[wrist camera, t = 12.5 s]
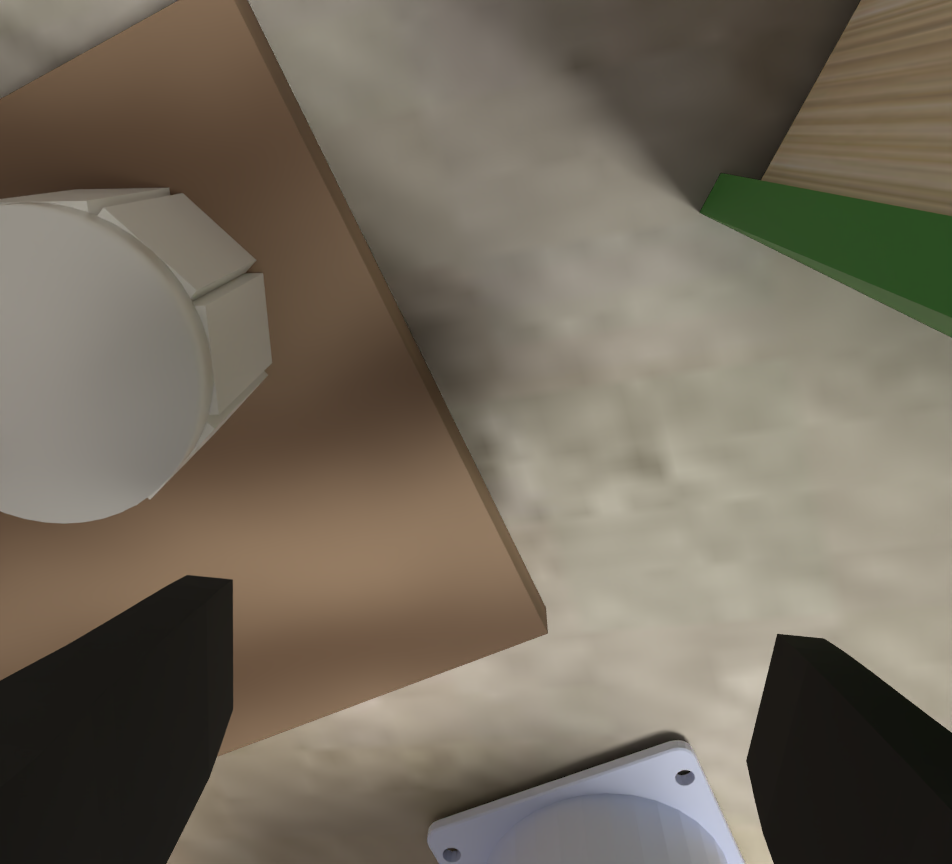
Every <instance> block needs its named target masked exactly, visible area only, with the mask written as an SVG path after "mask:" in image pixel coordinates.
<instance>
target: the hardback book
mask: <svg viewBox="0 0 952 864" xmlns="http://www.w3.org/2000/svg"><path fill="white" fill-rule="evenodd" d="M700 213H701V214H703V215H705V216H707V217H709V218H711V219H714V220H716V221H718V222H720V223H722V224H724V225H726V226H728V227H730V228H732V229H734V230H736V231H738V232H740V233H742V234H744V235H746V236H748V237H750V238H752V239H754V240H756V241H758V242H760V243H762V244H764V245H766V246H768V247H770V248H772V249H774V250H776V251H778V252H780V253H782V254H784V255H786V256H788V257H790V258H792V259H794V260H796V261H798V262H800V263H802V264H804V265H806V266H808V267H810V268H812V269H814V270H816V271H818V272H820V273H822V274H824V275H827V276H829V277H831V278H833V279H835V280H837V281H839V282H841V283H843V284H845V285H847V286H849V287H851V288H853V289H855V290H857V291H859V292H861V293H863V294H865V295H867V296H869V297H871V298H873V299H875V300H877V301H879V302H881V303H883V304H885V305H887V306H889V307H891V308H893V309H895V310H897V311H899V312H901V313H903V314H905V315H907V316H909V317H911V318H913V319H915V320H917V321H919V322H921V323H923V324H925V325H927V326H929V327H931V328H933V329H935V330H937V331H940V332H942V333H944V334H946V335H948V336H950V337H952V0H861V1H860V3H859V5H858V7H857V8H856V10H855V12H854V14H853V16H852V17H851V19H850V21H849V23H848V25H847V26H846V28H845V30H844V32H843V34H842V35H841V37H840V39H839V41H838V43H837V44H836V46H835V48H834V50H833V52H832V53H831V55H830V57H829V59H828V61H827V62H826V64H825V66H824V68H823V70H822V71H821V73H820V75H819V77H818V79H817V80H816V82H815V84H814V86H813V88H812V89H811V91H810V93H809V95H808V96H807V98H806V100H805V102H804V104H803V105H802V107H801V109H800V111H799V113H798V114H797V116H796V118H795V120H794V122H793V123H792V125H791V127H790V129H789V131H788V132H787V134H786V136H785V138H784V140H783V141H782V143H781V145H780V147H779V149H778V150H777V152H776V154H775V156H774V158H773V159H772V161H771V163H770V165H769V167H768V168H767V170H766V172H765V174H764V176H763V177H762V179H761V180H756V179H751V178H746V177H740V176H735V175H730V174H724V173H721V174H720V175H719V177H718V179H717V181H716V183H715V185H714V187H713V188H712V190H711V192H710V194H709V196H708V198H707V200H706V201H705V203H704V205H703V207H702V209H701V211H700Z"/></svg>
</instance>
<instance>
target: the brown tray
mask: <svg viewBox="0 0 952 864" xmlns="http://www.w3.org/2000/svg"><path fill="white" fill-rule="evenodd" d="M122 188H169V190H170V195H175V194H180V193H183V194H184V195H186V196H187V197H188V198H189V199H190V200H191V201H192V202H193V203H194V204H195V205H197V206H198V207H199V208H200V209H201V210H202V211H203V212H204V213H205V214H206V215H207V216H209V217H210V218H211V219H212V220H213V221H214V222H215V223H216V224H217V225H218V226H220V227H221V228H222V229H223V230H224V231H225V232H226V233H227V234H228V235H229V236H231V237H232V238H233V239H234V240H235V241H236V242H237V243H238V244H239V245H240V246H242V247H243V248H244V249H245V250H246V251H247V252H248V253H249V254H250V255H251V256H252V257H254V258H255V259H256V261H255V263H254V264H253V265H252V266H251V267H250V268H249V269H248V271H247V272H246V273H263V278H264V287H265V297H266V307H267V317H268V327H269V337H270V347H271V356H272V364H271V365H270V366H269V367H267V368H266V369H265V370H264V371H265V372H266V373H267V374H268V376H267V377H266V378H265V379H264V380H263V381H262V382H261V383H260V385H259V386H258V387H257V388H256V389H255V390H254V391H253V392H252V393H251V394H250V395H249V397H248V398H247V399H246V400H245V401H244V402H243V403H242V404H241V405H240V406H239V408H238V409H237V410H236V411H235V412H234V413H233V414H232V415H231V416H230V417H229V419H228V420H227V421H226V422H225V423H224V424H223V425H222V426H221V427H220V428H219V429H218V431H217V432H216V433H215V434H214V435H213V436H212V437H211V438H210V439H209V440H208V441H207V442H206V443H205V444H204V445H203V446H202V447H201V448H200V449H199V450H198V451H197V452H196V453H195V454H194V455H193V456H192V457H191V458H190V459H189V460H188V462H187V463H186V464H185V465H184V466H183V467H182V468H181V469H180V470H179V471H178V472H177V473H176V474H175V475H174V476H173V477H172V478H171V479H170V480H169V481H168V482H167V483H166V484H165V485H164V486H163V487H162V488H161V489H160V490H159V491H158V492H157V493H156V494H155V495H154V496H153V497H152V498H151V499H148V498H146V499H144V500H143V501H141V502H140V503H139V504H138V505H135V506H133V507H131V508H129V509H127V510H125V511H123V512H121V513H118V514H115V515H112V516H109V517H107V518H104V519H99V520H94V521H88V522H82V523H66V524H63V523H46V522H39V521H34V520H28V519H23V518H20V517H16V516H13V515H10V514H6V513H3V512H1V511H0V680H2V679H4V678H6V677H8V676H9V675H11V674H13V673H15V672H17V671H19V670H21V669H23V668H24V667H26V666H28V665H30V664H32V663H34V662H36V661H38V660H39V659H41V658H43V657H45V656H47V655H49V654H51V653H53V652H55V651H56V650H58V649H60V648H62V647H64V646H66V645H68V644H69V643H71V642H73V641H75V640H76V639H78V638H80V637H81V636H83V635H85V634H86V633H88V632H90V631H92V630H93V629H95V628H97V627H98V626H100V625H102V624H103V623H105V622H107V621H109V620H110V619H112V618H114V617H115V616H117V615H119V614H120V613H122V612H124V611H125V610H127V609H129V608H130V607H132V606H134V605H135V604H137V603H139V602H140V601H142V600H144V599H145V598H147V597H149V596H150V595H152V594H154V593H155V592H157V591H159V590H160V589H162V588H164V587H166V586H167V585H169V584H171V583H173V582H174V581H176V580H178V579H180V578H182V577H184V576H186V575H193V576H203V577H213V578H223V579H233V712H232V715H231V717H230V720H229V723H228V726H227V729H226V732H225V735H224V738H223V741H222V744H221V747H220V750H219V752H218V755H217V756H220V755H223V754H225V753H228V752H231V751H233V750H236V749H239V748H241V747H244V746H247V745H250V744H252V743H255V742H258V741H260V740H263V739H266V738H268V737H271V736H274V735H276V734H279V733H282V732H284V731H287V730H290V729H292V728H295V727H298V726H301V725H303V724H306V723H309V722H311V721H314V720H317V719H319V718H322V717H325V716H327V715H330V714H333V713H335V712H338V711H341V710H343V709H346V708H349V707H352V706H354V705H357V704H360V703H362V702H365V701H368V700H370V699H373V698H376V697H378V696H381V695H384V694H386V693H389V692H392V691H394V690H397V689H400V688H403V687H405V686H408V685H411V684H413V683H416V682H419V681H421V680H424V679H427V678H429V677H432V676H435V675H437V674H440V673H443V672H445V671H448V670H451V669H454V668H456V667H459V666H462V665H464V664H467V663H470V662H472V661H475V660H478V659H480V658H483V657H486V656H488V655H491V654H494V653H496V652H499V651H502V650H505V649H507V648H510V647H513V646H515V645H518V644H521V643H523V642H526V641H529V640H531V639H534V638H537V637H539V636H542V635H545V634H547V633H548V629H547V617H546V607H545V605H544V603H543V601H542V599H541V597H540V595H539V593H538V591H537V589H536V587H535V585H534V583H533V581H532V579H531V577H530V575H529V573H528V571H527V569H526V566H525V564H524V562H523V560H522V558H521V556H520V554H519V552H518V550H517V548H516V546H515V544H514V542H513V540H512V538H511V536H510V534H509V532H508V530H507V528H506V526H505V524H504V522H503V520H502V518H501V516H500V514H499V512H498V509H497V507H496V505H495V503H494V501H493V499H492V497H491V495H490V493H489V491H488V489H487V487H486V485H485V483H484V481H483V479H482V477H481V475H480V473H479V471H478V469H477V467H476V465H475V463H474V461H473V459H472V457H471V455H470V452H469V450H468V448H467V446H466V444H465V442H464V440H463V438H462V436H461V434H460V432H459V430H458V428H457V426H456V424H455V422H454V420H453V418H452V416H451V414H450V412H449V410H448V408H447V406H446V404H445V402H444V400H443V398H442V395H441V393H440V391H439V389H438V387H437V385H436V383H435V381H434V379H433V377H432V375H431V373H430V371H429V369H428V367H427V365H426V363H425V361H424V359H423V357H422V355H421V353H420V351H419V349H418V347H417V345H416V343H415V341H414V338H413V336H412V334H411V332H410V330H409V328H408V326H407V324H406V322H405V320H404V318H403V316H402V314H401V312H400V310H399V308H398V306H397V304H396V302H395V300H394V298H393V296H392V294H391V292H390V290H389V288H388V286H387V284H386V281H385V279H384V277H383V275H382V273H381V271H380V269H379V267H378V265H377V263H376V261H375V259H374V257H373V255H372V253H371V251H370V249H369V247H368V245H367V243H366V241H365V239H364V237H363V235H362V233H361V231H360V229H359V227H358V224H357V222H356V220H355V218H354V216H353V214H352V212H351V210H350V208H349V206H348V204H347V202H346V200H345V198H344V196H343V194H342V192H341V190H340V188H339V186H338V184H337V182H336V180H335V178H334V176H333V174H332V172H331V170H330V167H329V165H328V163H327V161H326V159H325V157H324V155H323V153H322V151H321V149H320V147H319V145H318V143H317V141H316V139H315V137H314V135H313V133H312V131H311V129H310V127H309V125H308V123H307V121H306V119H305V117H304V115H303V113H302V110H301V108H300V106H299V104H298V102H297V100H296V98H295V96H294V94H293V92H292V90H291V88H290V86H289V84H288V82H287V80H286V78H285V76H284V74H283V72H282V70H281V68H280V66H279V64H278V62H277V60H276V58H275V55H274V53H273V51H272V49H271V47H270V45H269V43H268V41H267V39H266V37H265V35H264V33H263V31H262V29H261V27H260V25H259V23H258V21H257V19H256V17H255V15H254V13H253V11H252V9H251V7H250V5H249V3H248V1H247V0H178V1H177V2H175V3H173V4H171V5H169V6H168V7H166V8H164V9H162V10H160V11H159V12H157V13H155V14H153V15H151V16H150V17H148V18H146V19H144V20H142V21H141V22H139V23H137V24H135V25H133V26H131V27H130V28H128V29H126V30H124V31H122V32H121V33H119V34H117V35H115V36H113V37H112V38H110V39H108V40H106V41H104V42H103V43H101V44H99V45H97V46H95V47H94V48H92V49H90V50H88V51H86V52H85V53H83V54H81V55H79V56H77V57H75V58H74V59H72V60H70V61H68V62H66V63H65V64H63V65H61V66H59V67H57V68H56V69H54V70H52V71H50V72H48V73H47V74H45V75H43V76H41V77H39V78H38V79H36V80H34V81H32V82H30V83H28V84H27V85H25V86H23V87H21V88H19V89H18V90H16V91H14V92H12V93H10V94H9V95H7V96H5V97H3V98H1V99H0V199H5V198H13V197H20V196H28V195H36V194H43V193H51V192H59V191H67V190H74V189H122Z"/></svg>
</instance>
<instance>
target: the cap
mask: <svg viewBox="0 0 952 864" xmlns="http://www.w3.org/2000/svg"><path fill="white" fill-rule="evenodd" d="M255 261H256V259H255V258H254V257H252V256H251V255H250V254H249V253H248V252H247V251H246V250H245V249H244V248H243V247H242V246H240V245H239V244H238V243H237V242H236V241H235V240H234V239H233V238H232V237H231V236H229V235H228V234H227V233H226V232H225V231H224V230H223V229H222V228H221V227H220V226H218V225H217V224H216V223H215V222H214V221H213V220H212V219H211V218H210V217H209V216H207V215H206V214H205V213H204V212H203V211H202V210H201V209H200V208H199V207H198V206H197V205H195V204H194V203H193V202H192V201H191V200H190V199H189V198H188V197H187V196H186V195H184V194H183V193H180V194H175V195H170V190H169V188H122V189H74V190H67V191H59V192H51V193H43V194H36V195H28V196H20V197H13V198H5V199H0V511H1V512H3V513H6V514H10V515H13V516H16V517H20V518H23V519H28V520H34V521H39V522H46V523H63V524H66V523H82V522H88V521H94V520H99V519H104V518H107V517H109V516H112V515H115V514H118V513H121V512H123V511H125V510H127V509H129V508H131V507H133V506H135V505H138V504H139V503H140V502H141V501H143V500H144V499H146V498H148V499H151V498H152V497H153V496H154V495H155V494H156V493H157V492H158V491H159V490H160V489H161V488H162V487H163V486H164V485H165V484H166V483H167V482H168V481H169V480H170V479H171V478H172V477H173V476H174V475H175V474H176V473H177V472H178V471H179V470H180V469H181V468H182V467H183V466H184V465H185V464H186V463H187V462H188V460H189V459H190V458H191V457H192V456H193V455H194V454H195V453H196V452H197V451H198V450H199V449H200V448H201V447H202V446H203V445H204V444H205V443H206V442H207V441H208V440H209V439H210V438H211V437H212V436H213V435H214V434H215V433H216V432H217V431H218V429H219V428H220V427H221V426H222V425H223V424H224V423H225V422H226V421H227V420H228V419H229V417H230V416H231V415H232V414H233V413H234V412H235V411H236V410H237V409H238V408H239V406H240V405H241V404H242V403H243V402H244V401H245V400H246V399H247V398H248V397H249V395H250V394H251V393H252V392H253V391H254V390H255V389H256V388H257V387H258V386H259V385H260V383H261V382H262V381H263V380H264V379H265V378H266V377H267V376H268V374H267V373H266V372H265V371H264V370H265V369H266V368H267V367H269V366H270V365H271V364H272V356H271V347H270V337H269V327H268V317H267V307H266V297H265V287H264V278H263V273H246V272H247V271H248V269H249V268H250V267H251V266H252V265H253V264H254V263H255Z"/></svg>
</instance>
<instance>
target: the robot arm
mask: <svg viewBox="0 0 952 864" xmlns="http://www.w3.org/2000/svg"><path fill="white" fill-rule="evenodd" d="M232 712H233V579H223V578H213V577H203V576H193V575H186V576H184V577H182V578H180V579H178V580H176V581H174V582H173V583H171V584H169V585H167V586H166V587H164V588H162V589H160V590H159V591H157V592H155V593H154V594H152V595H150V596H149V597H147V598H145V599H144V600H142V601H140V602H139V603H137V604H135V605H134V606H132V607H130V608H129V609H127V610H125V611H124V612H122V613H120V614H119V615H117V616H115V617H114V618H112V619H110V620H109V621H107V622H105V623H103V624H102V625H100V626H98V627H97V628H95V629H93V630H92V631H90V632H88V633H86V634H85V635H83V636H81V637H80V638H78V639H76V640H75V641H73V642H71V643H69V644H68V645H66V646H64V647H62V648H60V649H58V650H56V651H55V652H53V653H51V654H49V655H47V656H45V657H43V658H41V659H39V660H38V661H36V662H34V663H32V664H30V665H28V666H26V667H24V668H23V669H21V670H19V671H17V672H15V673H13V674H11V675H9V676H8V677H6V678H4V679H2V680H0V864H166V863H167V861H168V859H169V857H170V855H171V853H172V851H173V849H174V847H175V845H176V843H177V841H178V839H179V837H180V835H181V833H182V831H183V829H184V827H185V825H186V823H187V821H188V819H189V817H190V815H191V813H192V811H193V810H194V808H195V806H196V804H197V802H198V800H199V798H200V796H201V793H202V791H203V789H204V787H205V785H206V783H207V781H208V779H209V777H210V774H211V771H212V769H213V766H214V763H215V760H216V758H217V755H218V752H219V750H220V747H221V744H222V741H223V738H224V735H225V732H226V729H227V726H228V723H229V720H230V717H231V715H232ZM746 761H747V766H748V770H749V775H750V780H751V784H752V789H753V794H754V798H755V803H756V807H757V811H758V815H759V819H760V823H761V827H762V831H763V835H764V837H765V840H766V843H767V846H768V849H769V851H770V854H771V857H772V860H773V862H774V864H952V733H951V732H950V731H949V730H947V729H946V728H945V727H943V726H942V725H941V724H939V723H938V722H937V721H935V720H934V719H933V718H931V717H930V716H929V715H927V714H926V713H925V712H923V711H922V710H921V709H919V708H918V707H917V706H915V705H914V704H913V703H912V702H910V701H909V700H908V699H906V698H905V697H904V696H902V695H901V694H900V693H898V692H897V691H896V690H895V689H893V688H892V687H891V686H889V685H888V684H887V683H885V682H884V681H883V680H881V679H880V678H879V677H878V676H876V675H875V674H874V673H872V672H871V671H870V670H868V669H867V668H866V667H864V666H863V665H862V664H860V663H859V662H858V661H856V660H855V659H854V658H852V657H851V656H849V655H848V654H847V653H845V652H844V651H842V650H841V649H839V648H838V647H836V646H835V645H833V644H832V643H830V642H829V641H827V640H825V639H823V638H813V637H803V636H793V635H783V634H777V638H776V642H775V646H774V650H773V654H772V658H771V662H770V666H769V670H768V674H767V678H766V683H765V687H764V691H763V695H762V699H761V703H760V707H759V711H758V715H757V719H756V723H755V728H754V732H753V736H752V740H751V744H750V748H749V752H748V756H747V760H746ZM681 770H689V771H690V772H689V773H688V774H686V775H678V774H677V773H678V772H680V771H681ZM427 843H428V846H429V848H430V849H431V851H432V853H433V854H434V856H435V858H436V859H437V861H438V863H439V864H746V863H745V861H744V859H743V857H742V854H741V852H740V850H739V848H738V846H737V843H736V841H735V839H734V837H733V835H732V832H731V830H730V828H729V826H728V824H727V822H726V819H725V817H724V815H723V813H722V811H721V808H720V806H719V804H718V802H717V800H716V797H715V795H714V793H713V791H712V789H711V786H710V784H709V782H708V780H707V778H706V775H705V773H704V771H703V769H702V767H701V765H700V762H699V760H698V758H697V756H696V754H695V751H694V749H693V748H692V747H691V745H690V744H688V743H686V742H685V741H680V740H674V741H669V742H666V743H663V744H660V745H657V746H654V747H651V748H648V749H645V750H642V751H639V752H636V753H633V754H631V755H628V756H625V757H622V758H619V759H616V760H613V761H610V762H607V763H604V764H601V765H598V766H595V767H592V768H589V769H586V770H584V771H581V772H578V773H575V774H572V775H569V776H566V777H563V778H560V779H557V780H554V781H551V782H548V783H545V784H542V785H539V786H537V787H534V788H531V789H528V790H525V791H522V792H519V793H516V794H513V795H510V796H507V797H504V798H501V799H498V800H495V801H492V802H489V803H487V804H484V805H481V806H478V807H475V808H472V809H469V810H466V811H463V812H460V813H457V814H454V815H451V816H448V817H445V818H442V819H440V820H437V821H435V822H433V823H432V824H431V825H430V827H429V830H428V836H427ZM447 848H455V849H458V850H457V851H450V850H447Z"/></svg>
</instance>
